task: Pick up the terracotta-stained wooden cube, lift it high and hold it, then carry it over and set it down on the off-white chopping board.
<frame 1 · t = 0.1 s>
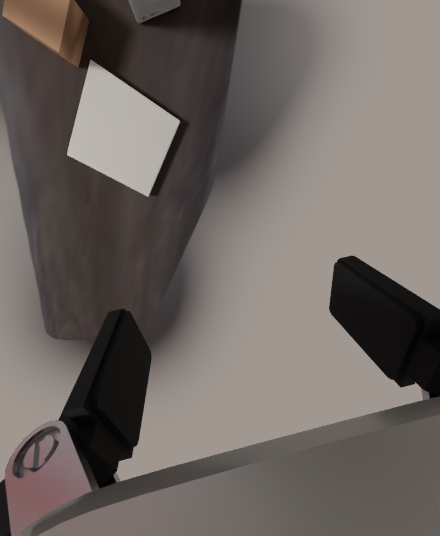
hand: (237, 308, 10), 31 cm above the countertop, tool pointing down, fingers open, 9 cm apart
chopping board: (125, 138, 31), on the countertop
wooden cube: (61, 29, 25), on the countertop
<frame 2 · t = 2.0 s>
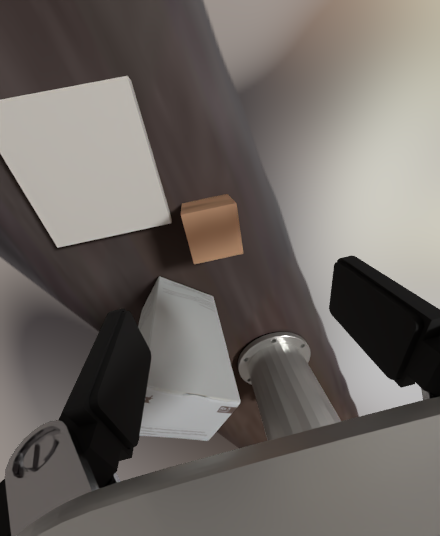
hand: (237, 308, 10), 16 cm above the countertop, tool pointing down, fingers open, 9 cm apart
skincare box: (180, 300, 29), on the countertop
chopping board: (92, 172, 20), on the countertop
wooden cube: (209, 220, 24), on the countertop
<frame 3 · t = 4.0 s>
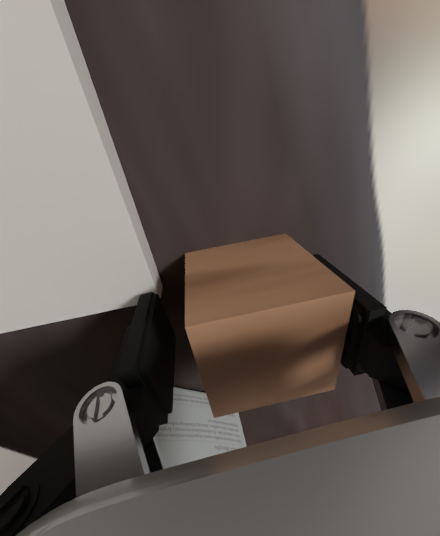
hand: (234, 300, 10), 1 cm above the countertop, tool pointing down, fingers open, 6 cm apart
skincare box: (177, 405, 16), on the countertop
wooden cube: (240, 284, 12), on the countertop
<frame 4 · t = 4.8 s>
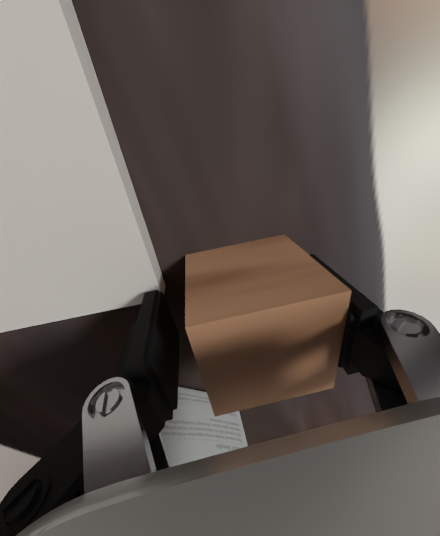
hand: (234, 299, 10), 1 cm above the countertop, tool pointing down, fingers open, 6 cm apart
skincare box: (178, 404, 16), on the countertop
wooden cube: (240, 285, 12), on the countertop, touching gripper
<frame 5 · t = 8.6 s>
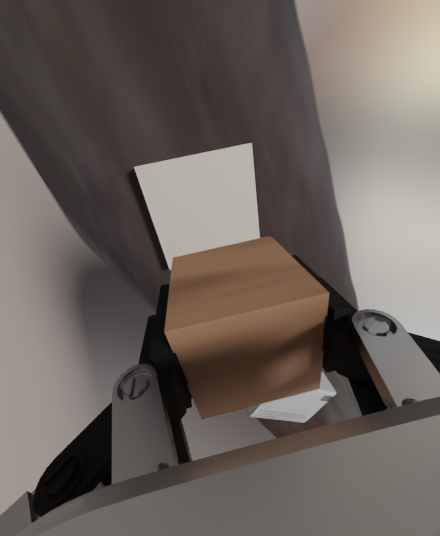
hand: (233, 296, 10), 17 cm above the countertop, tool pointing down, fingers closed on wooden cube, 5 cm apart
skincare box: (251, 309, 34), on the countertop
chopping board: (205, 211, 25), on the countertop
wooden cube: (229, 287, 12), point 16 cm above the countertop, touching gripper
when the fingers open (3 cm above the countertop, at t = 11.8 s): wooden cube stays where it is, resting on chopping board.
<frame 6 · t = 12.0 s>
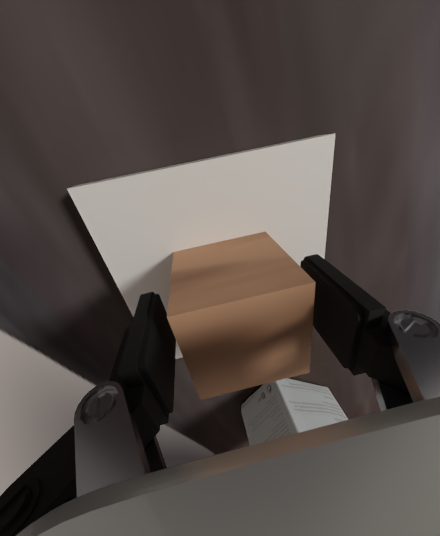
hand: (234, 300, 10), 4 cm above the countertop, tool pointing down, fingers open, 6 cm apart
skincare box: (286, 393, 22), on the countertop
chopping board: (222, 264, 13), on the countertop
wooden cube: (227, 280, 12), point 1 cm above the countertop, touching chopping board
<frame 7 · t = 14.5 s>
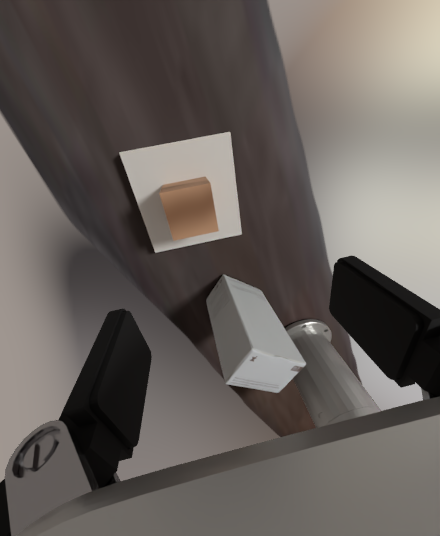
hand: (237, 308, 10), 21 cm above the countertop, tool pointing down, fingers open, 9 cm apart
skincare box: (235, 293, 36), on the countertop
chopping board: (188, 196, 27), on the countertop
wooden cube: (189, 202, 26), point 1 cm above the countertop, touching chopping board
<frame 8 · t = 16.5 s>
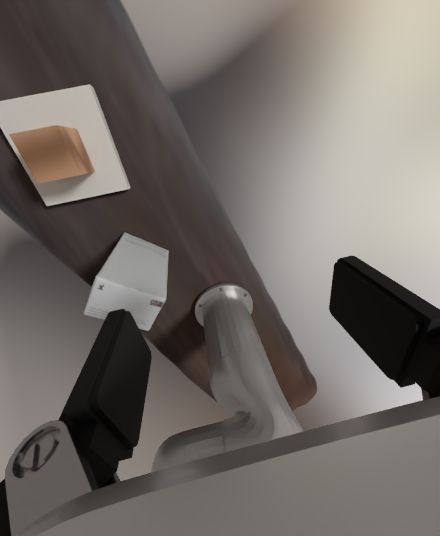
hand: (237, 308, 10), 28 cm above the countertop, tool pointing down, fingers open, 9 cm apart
skincare box: (143, 253, 38), on the countertop
chopping board: (70, 151, 29), on the countertop
wooden cube: (67, 154, 28), point 1 cm above the countertop, touching chopping board
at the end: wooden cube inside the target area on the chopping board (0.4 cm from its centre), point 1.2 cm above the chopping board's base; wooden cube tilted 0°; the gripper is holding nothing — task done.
